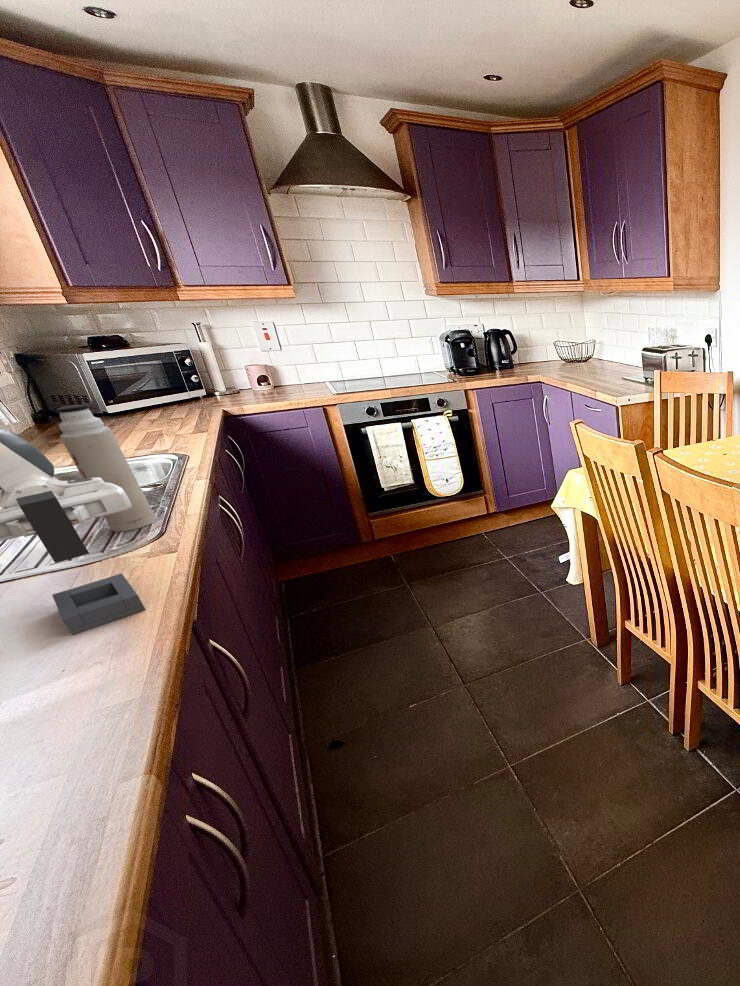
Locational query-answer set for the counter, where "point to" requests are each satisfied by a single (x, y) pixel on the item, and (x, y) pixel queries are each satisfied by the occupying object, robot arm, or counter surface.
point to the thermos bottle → (103, 463)
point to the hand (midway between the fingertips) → (52, 524)
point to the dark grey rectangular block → (52, 526)
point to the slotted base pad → (97, 603)
